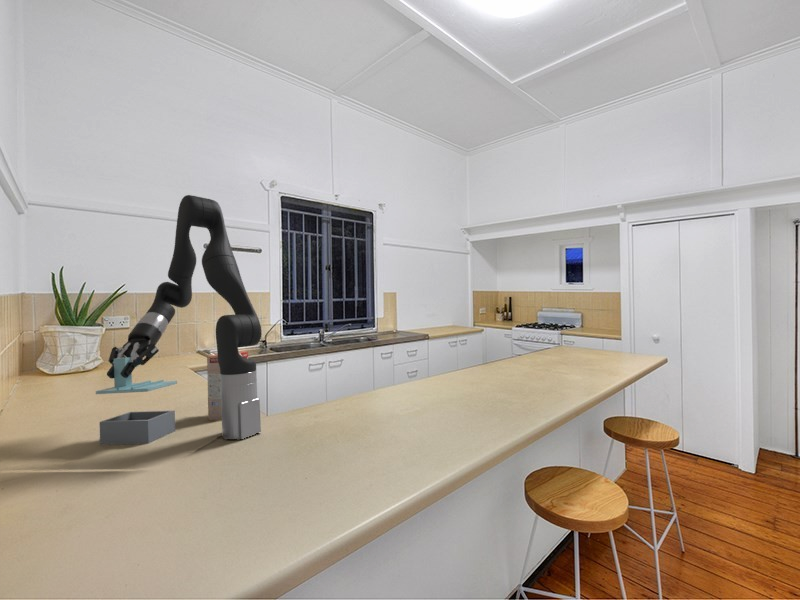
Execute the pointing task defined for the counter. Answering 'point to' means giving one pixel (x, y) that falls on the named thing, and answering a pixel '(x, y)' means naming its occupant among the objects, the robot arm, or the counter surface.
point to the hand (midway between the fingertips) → (116, 376)
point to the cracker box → (215, 386)
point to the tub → (137, 427)
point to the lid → (126, 383)
